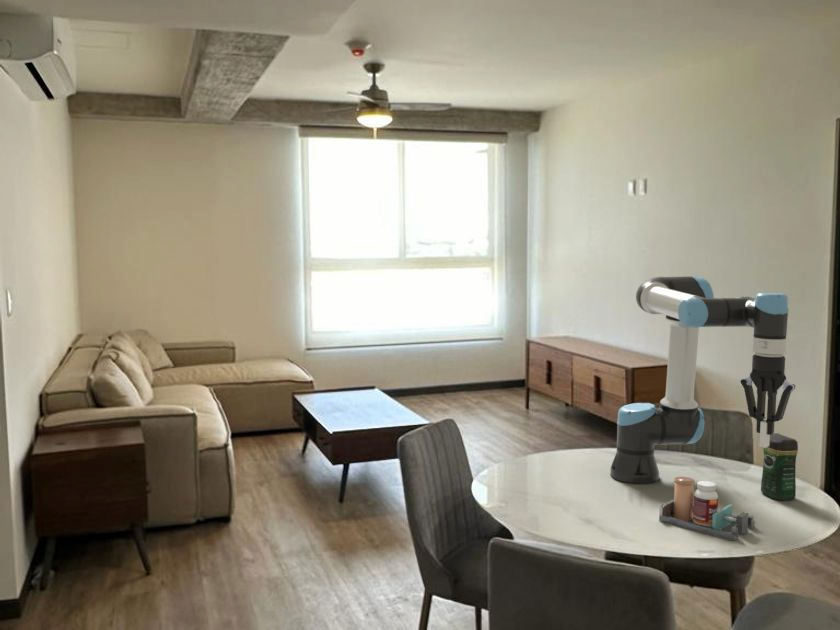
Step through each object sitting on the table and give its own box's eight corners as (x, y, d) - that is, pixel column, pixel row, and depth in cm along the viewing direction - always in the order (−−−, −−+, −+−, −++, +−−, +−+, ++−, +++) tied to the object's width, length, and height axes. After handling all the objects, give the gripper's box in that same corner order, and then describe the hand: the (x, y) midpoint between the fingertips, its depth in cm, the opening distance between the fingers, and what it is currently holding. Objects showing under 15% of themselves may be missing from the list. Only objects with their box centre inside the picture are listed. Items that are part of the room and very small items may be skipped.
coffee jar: (800, 500, 229) (803, 438, 227) (776, 502, 227) (779, 440, 225) (779, 490, 238) (782, 430, 236) (755, 491, 237) (758, 431, 235)
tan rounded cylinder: (669, 517, 214) (671, 479, 213) (678, 512, 218) (679, 475, 217) (687, 522, 211) (689, 483, 210) (696, 517, 215) (697, 479, 214)
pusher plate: (711, 533, 203) (712, 514, 203) (729, 522, 211) (729, 504, 211) (736, 539, 199) (736, 520, 199) (752, 528, 207) (753, 509, 206)
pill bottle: (712, 529, 206) (713, 488, 205) (688, 523, 210) (690, 483, 209) (720, 522, 211) (721, 483, 210) (697, 517, 215) (699, 478, 214)
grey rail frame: (659, 520, 212) (659, 506, 212) (681, 508, 222) (682, 494, 221) (733, 541, 198) (734, 525, 198) (754, 526, 208) (755, 512, 207)
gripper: (737, 353, 197) (732, 444, 200) (790, 359, 188) (785, 454, 191) (748, 350, 203) (744, 438, 205) (801, 355, 194) (796, 448, 196)
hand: (764, 446), depth 198 cm, fingers closed
